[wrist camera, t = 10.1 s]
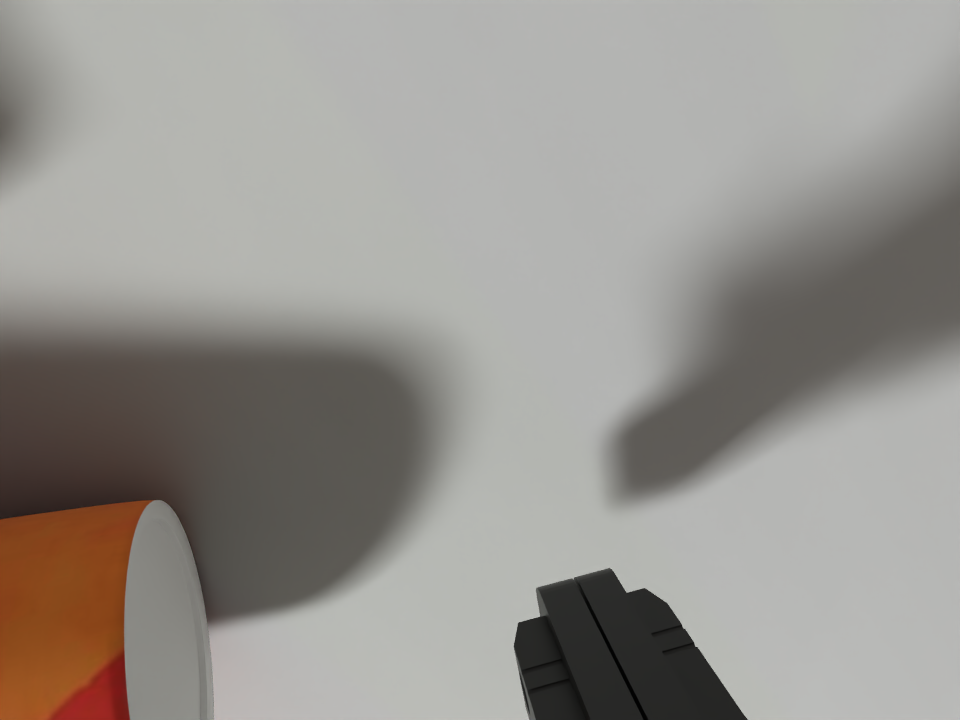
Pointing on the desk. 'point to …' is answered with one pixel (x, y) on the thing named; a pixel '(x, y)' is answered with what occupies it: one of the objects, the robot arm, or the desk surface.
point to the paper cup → (102, 617)
